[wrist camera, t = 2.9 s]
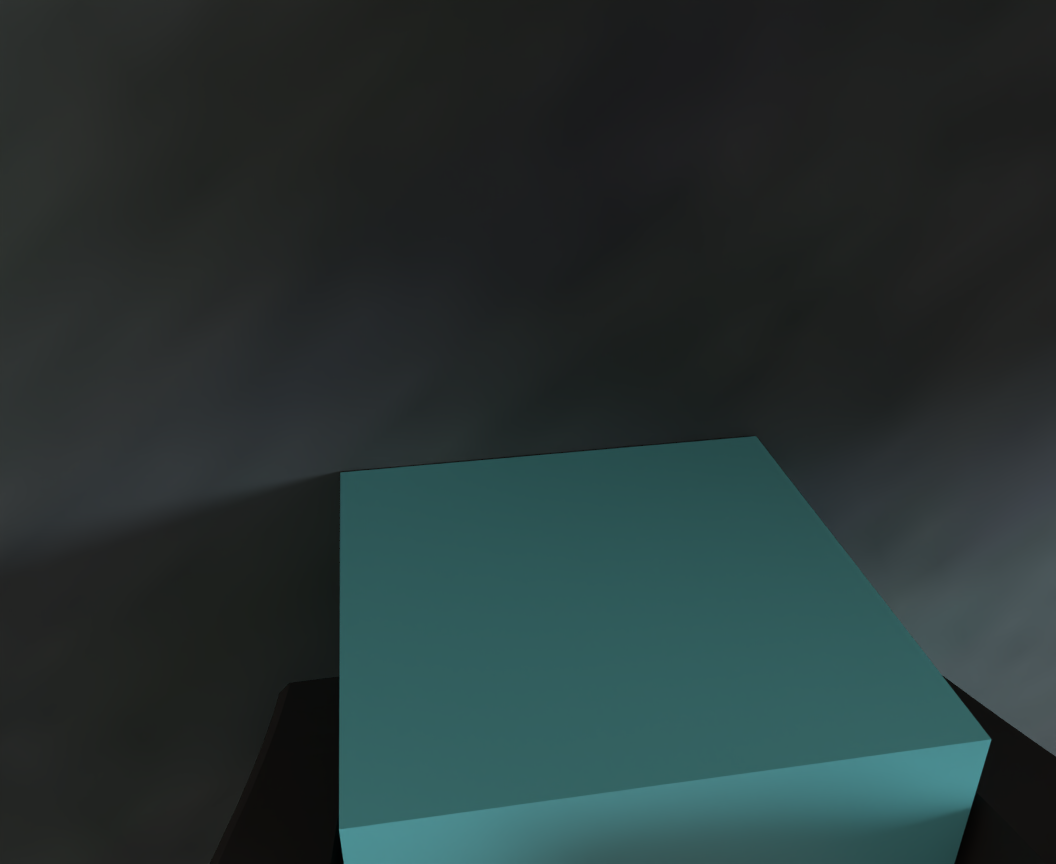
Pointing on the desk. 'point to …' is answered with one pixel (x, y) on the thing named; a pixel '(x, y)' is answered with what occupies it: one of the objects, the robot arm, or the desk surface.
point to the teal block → (630, 672)
